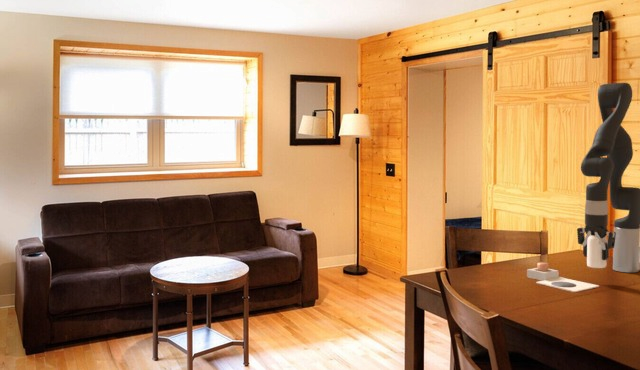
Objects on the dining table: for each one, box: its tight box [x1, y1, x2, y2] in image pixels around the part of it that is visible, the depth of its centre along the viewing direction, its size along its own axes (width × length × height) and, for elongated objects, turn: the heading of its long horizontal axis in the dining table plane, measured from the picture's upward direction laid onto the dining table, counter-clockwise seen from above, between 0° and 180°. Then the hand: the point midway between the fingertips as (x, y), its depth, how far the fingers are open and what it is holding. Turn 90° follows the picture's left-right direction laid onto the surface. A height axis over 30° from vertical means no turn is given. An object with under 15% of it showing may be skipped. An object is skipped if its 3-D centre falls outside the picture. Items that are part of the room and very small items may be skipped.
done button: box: [536, 261, 550, 272], centre depth 232 cm, size 4×4×4 cm
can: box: [586, 235, 608, 270], centre depth 223 cm, size 6×6×12 cm
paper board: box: [535, 276, 600, 293], centre depth 221 cm, size 14×16×1 cm
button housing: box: [526, 267, 560, 281], centre depth 232 cm, size 8×8×3 cm
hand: (595, 257), depth 223 cm, fingers closed on can, 6 cm apart
